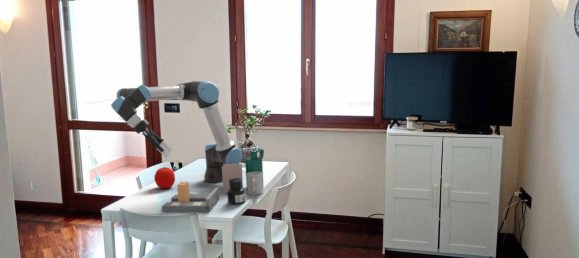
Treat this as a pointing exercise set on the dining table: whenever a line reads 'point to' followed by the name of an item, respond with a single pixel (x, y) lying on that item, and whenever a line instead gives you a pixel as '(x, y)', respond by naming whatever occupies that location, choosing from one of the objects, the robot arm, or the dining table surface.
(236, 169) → the greeting card
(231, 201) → the ink bottle
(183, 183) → the lever
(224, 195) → the dining table surface
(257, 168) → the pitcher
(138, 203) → the dining table surface
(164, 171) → the tomato
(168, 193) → the dining table surface
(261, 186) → the mug
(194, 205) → the breaker housing
